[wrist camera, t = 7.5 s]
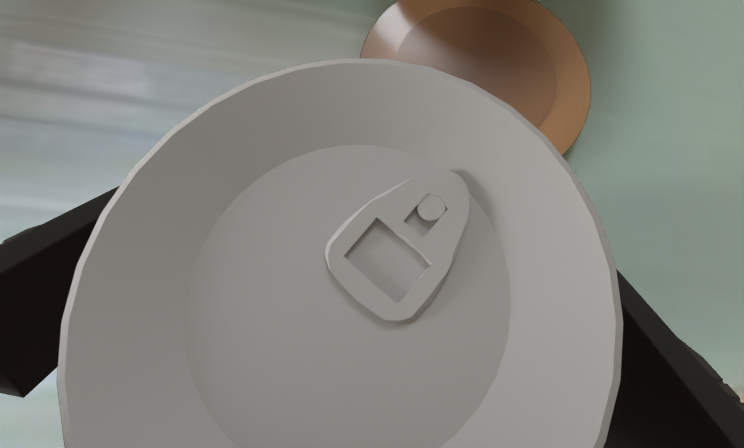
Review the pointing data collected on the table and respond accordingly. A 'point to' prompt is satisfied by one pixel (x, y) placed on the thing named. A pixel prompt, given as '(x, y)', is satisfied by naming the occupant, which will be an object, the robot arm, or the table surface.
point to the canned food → (345, 277)
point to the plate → (494, 55)
